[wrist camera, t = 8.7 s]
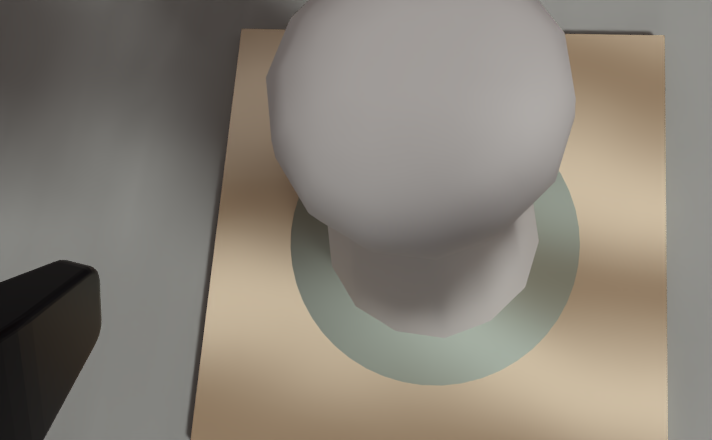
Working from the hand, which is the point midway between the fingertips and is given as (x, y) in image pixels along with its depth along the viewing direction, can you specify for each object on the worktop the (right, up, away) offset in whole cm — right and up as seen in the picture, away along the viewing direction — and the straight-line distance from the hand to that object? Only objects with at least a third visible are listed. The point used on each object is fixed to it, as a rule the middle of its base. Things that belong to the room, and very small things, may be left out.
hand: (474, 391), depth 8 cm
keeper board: (+1, +1, +14) cm, 14 cm away
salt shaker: (+1, +1, +14) cm, 14 cm away
